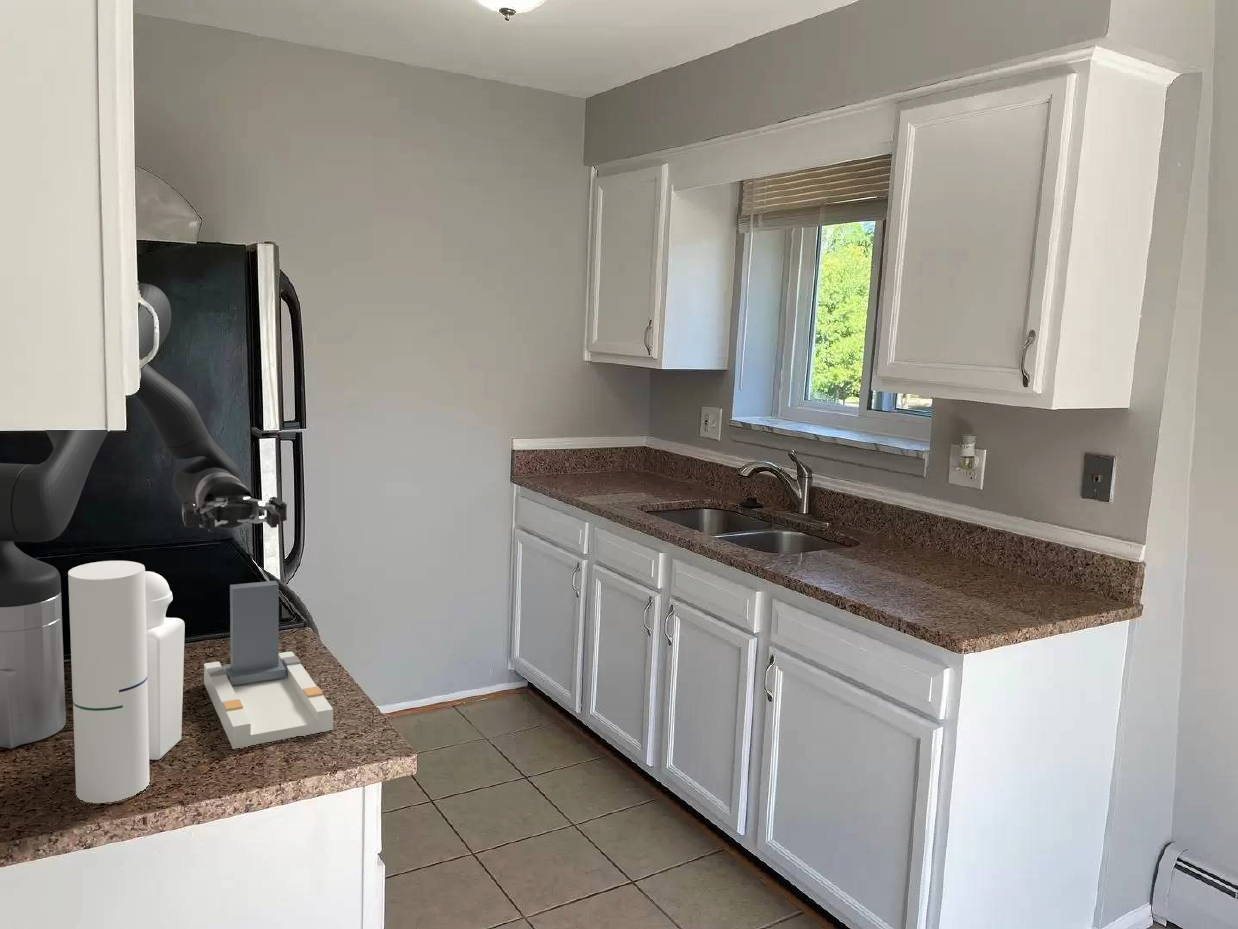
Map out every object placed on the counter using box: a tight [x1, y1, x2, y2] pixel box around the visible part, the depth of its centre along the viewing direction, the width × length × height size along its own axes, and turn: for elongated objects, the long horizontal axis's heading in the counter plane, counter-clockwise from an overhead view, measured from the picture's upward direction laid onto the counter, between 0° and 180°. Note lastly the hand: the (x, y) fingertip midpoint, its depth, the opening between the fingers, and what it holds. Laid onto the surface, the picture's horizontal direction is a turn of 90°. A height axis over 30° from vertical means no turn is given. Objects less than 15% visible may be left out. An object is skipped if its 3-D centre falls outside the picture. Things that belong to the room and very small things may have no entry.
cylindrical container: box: [67, 560, 150, 803], centre depth 101 cm, size 7×7×25 cm
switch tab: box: [222, 580, 286, 686], centre depth 130 cm, size 5×7×13 cm
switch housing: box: [203, 651, 334, 750], centre depth 125 cm, size 22×12×3 cm, turn 32°
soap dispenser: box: [145, 570, 186, 761], centre depth 110 cm, size 6×6×22 cm
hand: (244, 523), depth 133 cm, fingers open, 8 cm apart
